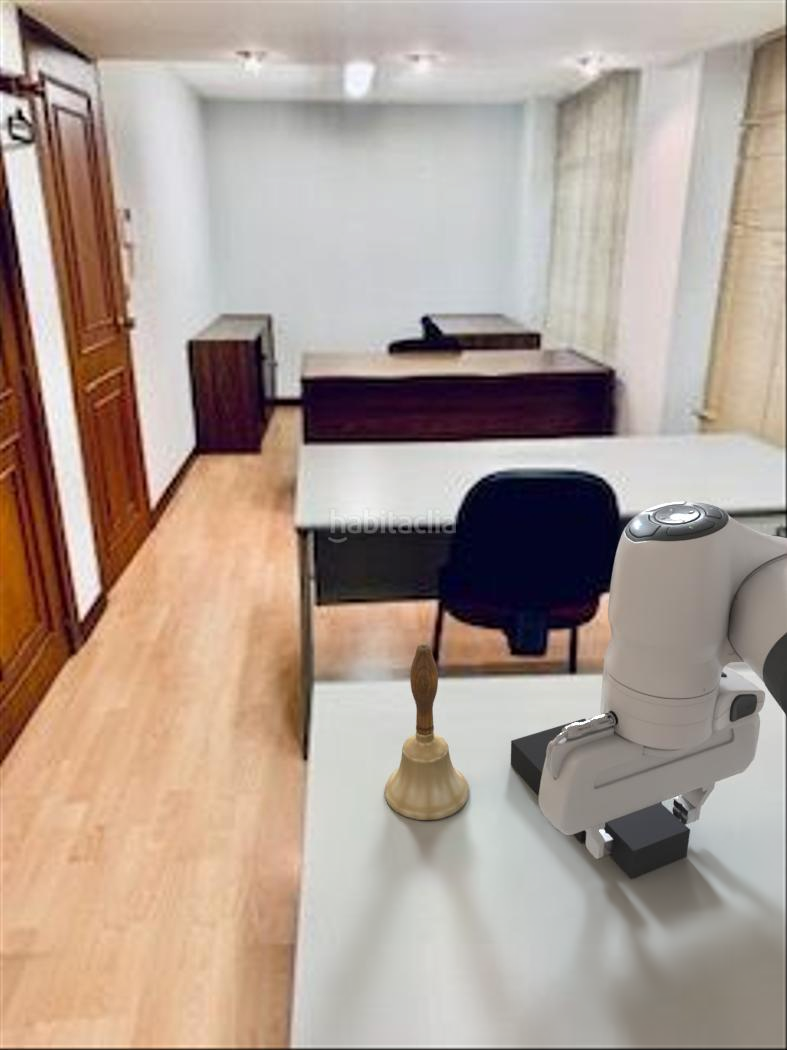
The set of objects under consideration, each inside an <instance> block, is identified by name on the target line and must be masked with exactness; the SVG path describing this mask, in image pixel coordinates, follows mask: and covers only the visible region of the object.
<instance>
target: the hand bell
mask: <svg viewBox="0 0 787 1050" xmlns="http://www.w3.org/2000/svg"><path fill="white" fill-rule="evenodd" d="M410 666H411V667H410V671H409V673H410V675H409V676H410V689H411V694H412V697H413V700H414V702H415V707H416V717H415V720H416V721H415V723H416V724H415V733H414V734H412V735H410V736H409V737H408V738H406V740H405V741H404V742H403V744H402V747H401V757H400V763H399V766H398V768H397V769H395V770H394V771H393V772H392V773H391V775H390V776H389V778H388V779H387V780H386V783H385V786H384V797H385V800H386V803H388V805H389V806H390V808H391V809H392V810H394V811H395V812H396V813H397V814H399V815H402V816H403V817H406V818H409V819H413V820H417V821H431V820H432V821H433V820H440V819H445V818H446V817H450V816H452V815H454V814H456V813H457V812H458V811H459V810H461V809H462V808H463V807H464V806H465V805H466V803H467V801H468V799H469V795H470V788H469V784H468V781H467V779H466V778H465V776H464V775H463V773H461V772H460V771H459V770H458V769H457V768H456V767H454V765H453V762H452V760H451V756H450V749H449V743H448V742H447V741H446V740H445V738H444V737H442V736H441V735H439V734H437V733H435V732H434V731H435V725H434V711H433V710H434V709H433V708H434V702H435V699H436V696H437V692H438V686H439V671H438V666H437V663H436V660H435V658H434V655H433V653H432V649H431V646H430V645H428V644H424V643H423V644H419V645H417V647H416V650H415V654H414V657H413V660H412V663H411V665H410Z"/></svg>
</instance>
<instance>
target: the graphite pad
mask: <svg viewBox="0 0 787 1050" xmlns="http://www.w3.org/2000/svg"><path fill="white" fill-rule="evenodd" d="M604 830H605V833H607V834H609V835H610V836H611V837H612V838H613V846H612V853H610V854H608V855H607V856H609V857H610V858H611V859H612V860H613V861H614V862H615V863H616V865H618V867H619V868H620V869H621V870H622V871H623V872H624V873H625V874H626V875H627V876H628V877H629V879H631V880H632V879H634V878H637V877H640V876H642V875H644V874H648V873H650V872H652V871H654V870H657V869H660V868H663V867H664V866H668V865H670V864H672V863H675V862H678V861H679V860H682V859H685V858H687V856H688V849H689V843H690V836H691V835H690V834H691V829H690V828H689V827H688V826H687V824H686V825H684V824H683V823H682V822H681V821H680V820H679V819H678V818H677V817H676V816H675V815H673V812H672V811H670V810H669V809H668V808H667V807H666V806H665V805H664V804H663V803H662V804H661V803H657V804H655V805H652V806H649V807H646V808H644V809H641V810H638V811H635V812H633V813H630V814H627V815H625V816H622V817H619V818H616V819H614V820H611V821H608V822H606V823H605V828H604Z"/></svg>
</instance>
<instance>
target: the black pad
mask: <svg viewBox="0 0 787 1050" xmlns="http://www.w3.org/2000/svg"><path fill="white" fill-rule="evenodd" d="M586 720H587V719H586V718H580V719H577V720H574V721H572V722H571V721H570V722H568V723H565V724H562V725H558V726H554V727H551V728H548V729H545V730H542V731H538V732H535V733H532V734H529V735H526V736H522V737H518V738H515V739H512V740H511V741H510V766H511V767H512V768H513V770H514V771H516V773H517V774H518V775H519V776H520V777H521V778H522V779H523V781H524V782H525V783H526V784H527V785H528V786H529V787H530V788H531V790H532V791H533V792H534V793H535V794H536V795H537V796H538V797H539V790H540V783H541V777H542V772H543V767H544V763H545V759H546V753H547V747H548V744H549V743H550V742H551V741H553V740H554V738H555V737H556V736H558V735H559V734H560V733H562V729H563V728H564V727H566V726H567V725H569V724H572V723H580V722H583V721H586ZM660 803H661V804H662V805H663V802H660ZM572 836H573V837H574V838H575V839H576V840H577V841H578V842H579V843H580V844H583V843H586V831H585V830H584V831H581V832H578V833H576V834H573V835H572Z"/></svg>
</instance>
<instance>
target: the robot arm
mask: <svg viewBox="0 0 787 1050" xmlns="http://www.w3.org/2000/svg"><path fill="white" fill-rule="evenodd" d="M613 562H614V563H613V566H612V572H611V579H610V587H609V596H608V606H607V619H608V624H609V627H610V640H609V643H608V646H607V647H606V650H605V652H604V656H603V667H602V669H603V670H602V681H601V684H602V685H601V696H600V707H599V709H600V710H599V711H600V714H599V715H596V716H592V717H590V718H588V719H586V721H583V722H580V723H572V724H569V725H567V726H566V727H564V728H563V729H562V733H560V734H559V735H558V736H556V737H555V738H554V740H553V741H551V742H550V743H549V744H548V747H547V753H546V759H545V763H544V767H543V772H542V777H541V783H540V790H539V796H538V807H539V809H540V811H541V812H542V813H543V815H544V817H546V819H547V820H548V821H549V822H550V823H551V825H552V826H554V827H555V829H557V830H558V831H560V832H561V833H562V834H563V835H565V836H574V835H573V834H576V833H578V832H581V831H584V830H585V831H586V841H585V846H586V849H587V851H588V852H589V853H590V854H591V855H592V856H593V858H594V859H596V860H599V859H601V858H603V857H606V856H609V855H608V854H610V853H612V846H613V838H612V837H611V836H610V835H609V834H607V833H605V830H604V828H605V823H606V822H608V821H611V820H614V819H616V818H619V817H622V816H625V815H627V814H630V813H633V812H635V811H638V810H641V809H644V808H646V807H649V806H652V805H655V804H657V803H660V802H662V803H663V802H665V801H668V800H671V799H673V803H672V805H673V807H672V814H673V815H675V816H676V817H677V818H678V819H679V820H680V821H681V822H682V823H683V824H684V825H686V826H687V825H689V824H692V823H694V822H696V821H699V820H700V815H701V809H702V806H703V805H704V804H705V803H706V801H707V800H708V798H709V797H710V795H711V794H712V792H713V790H714V789H715V786H716V783H717V782H720V781H722V780H725V779H728V778H730V777H733V776H736V775H740V774H742V773H744V772H745V771H746V770H747V769H748V768H749V766H750V765H751V764H752V763H753V761H754V759H755V757H756V752H757V748H758V743H759V736H760V729H761V728H760V727H761V718H760V714H759V713H760V712H761V711H762V710H763V707H764V705H765V701H766V693H765V691H764V690H763V689H761V688H760V687H759V686H758V685H756V684H755V683H753V682H752V681H750V680H749V679H747V677H745V676H744V675H742V674H740V673H739V672H737V671H735V670H734V669H732V668H730V667H728V666H727V665H729V664H732V663H745V664H746V665H747V666H748V667H749V668H750V669H751V671H753V673H754V674H755V675H756V676H757V677H758V678H759V679H760V681H762V682H763V684H764V686H765V687H766V689H767V691H768V692H769V693H770V695H771V696H772V698H773V699H774V701H775V702H776V703H777V705H778V706H779V707H780V709H781V710H782V711H783V713H784V714H785V716H786V717H787V537H786V536H783V535H777V534H767V533H765V532H760V531H757V530H755V529H752V528H751V527H748V526H747V525H744V524H742V523H741V522H739V521H737V520H736V519H735V518H733V517H732V516H730V515H729V513H728V512H727V511H726V510H724V509H723V508H720V507H719V506H716V505H713V504H709V503H703V502H693V501H692V502H691V501H689V502H688V501H672V502H667V503H661V504H658V505H655V506H651V507H649V508H647V509H645V510H643V511H641V512H639V513H637V514H636V515H634V517H632V518H631V519H630V521H629V522H628V523H627V524H626V526H625V527H624V529H623V530H622V533H621V535H620V539H619V541H618V544H617V548H616V551H615V556H614V561H613Z"/></svg>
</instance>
